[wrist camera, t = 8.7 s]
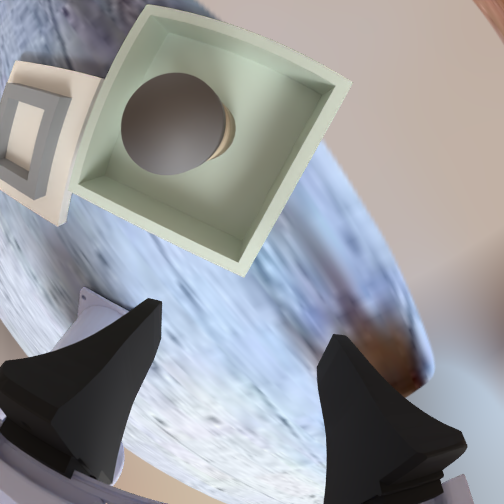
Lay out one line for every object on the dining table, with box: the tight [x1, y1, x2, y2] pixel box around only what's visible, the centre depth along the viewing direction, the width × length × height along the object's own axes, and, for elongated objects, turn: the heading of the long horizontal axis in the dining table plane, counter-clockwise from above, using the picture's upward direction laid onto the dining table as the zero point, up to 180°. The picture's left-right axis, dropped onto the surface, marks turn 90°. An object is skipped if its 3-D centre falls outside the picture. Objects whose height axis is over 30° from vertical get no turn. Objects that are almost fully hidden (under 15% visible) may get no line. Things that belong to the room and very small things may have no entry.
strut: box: [121, 73, 236, 175], centre depth 13 cm, size 4×4×7 cm
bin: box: [68, 4, 353, 277], centre depth 15 cm, size 12×12×4 cm
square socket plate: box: [0, 61, 105, 227], centre depth 15 cm, size 12×12×3 cm
